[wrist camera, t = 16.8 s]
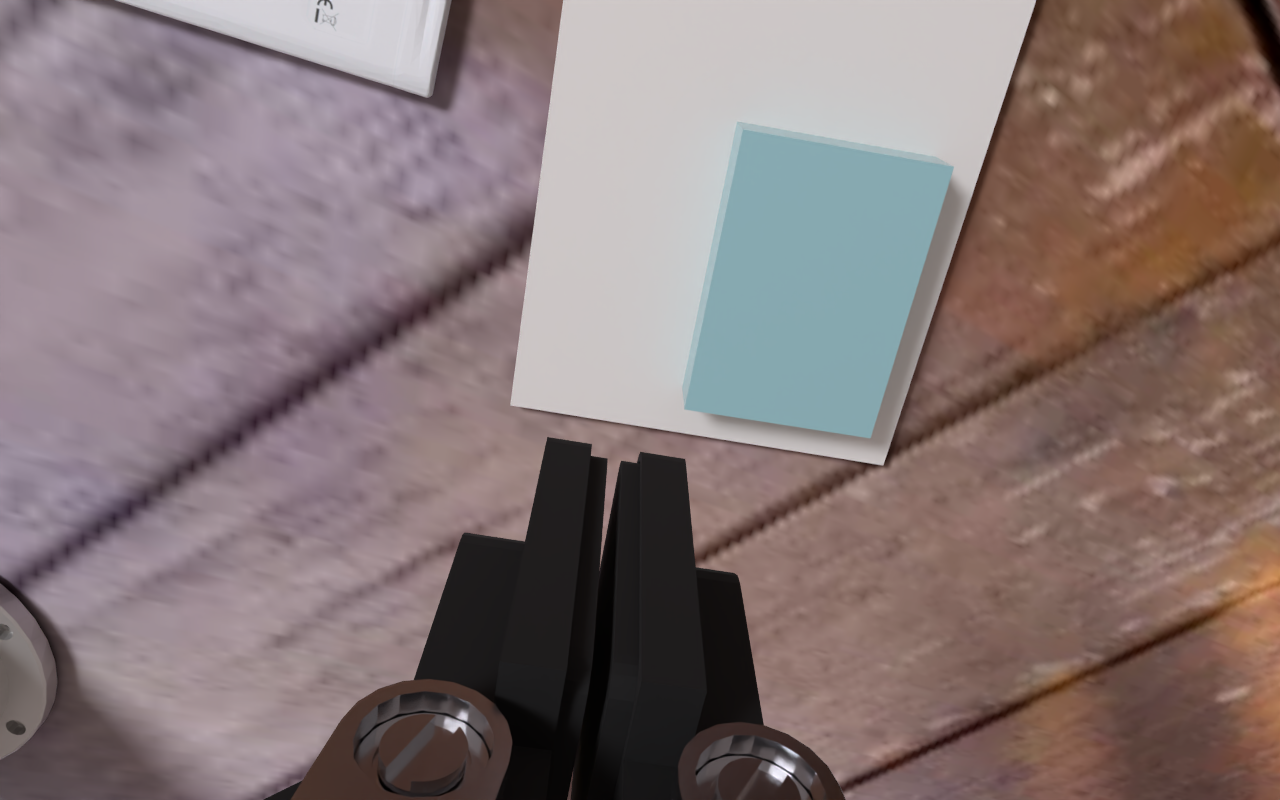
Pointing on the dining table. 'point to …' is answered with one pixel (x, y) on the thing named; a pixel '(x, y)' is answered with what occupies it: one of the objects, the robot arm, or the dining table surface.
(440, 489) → the dining table surface
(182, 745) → the dining table surface
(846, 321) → the tile
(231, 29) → the external hard drive
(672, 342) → the mat
